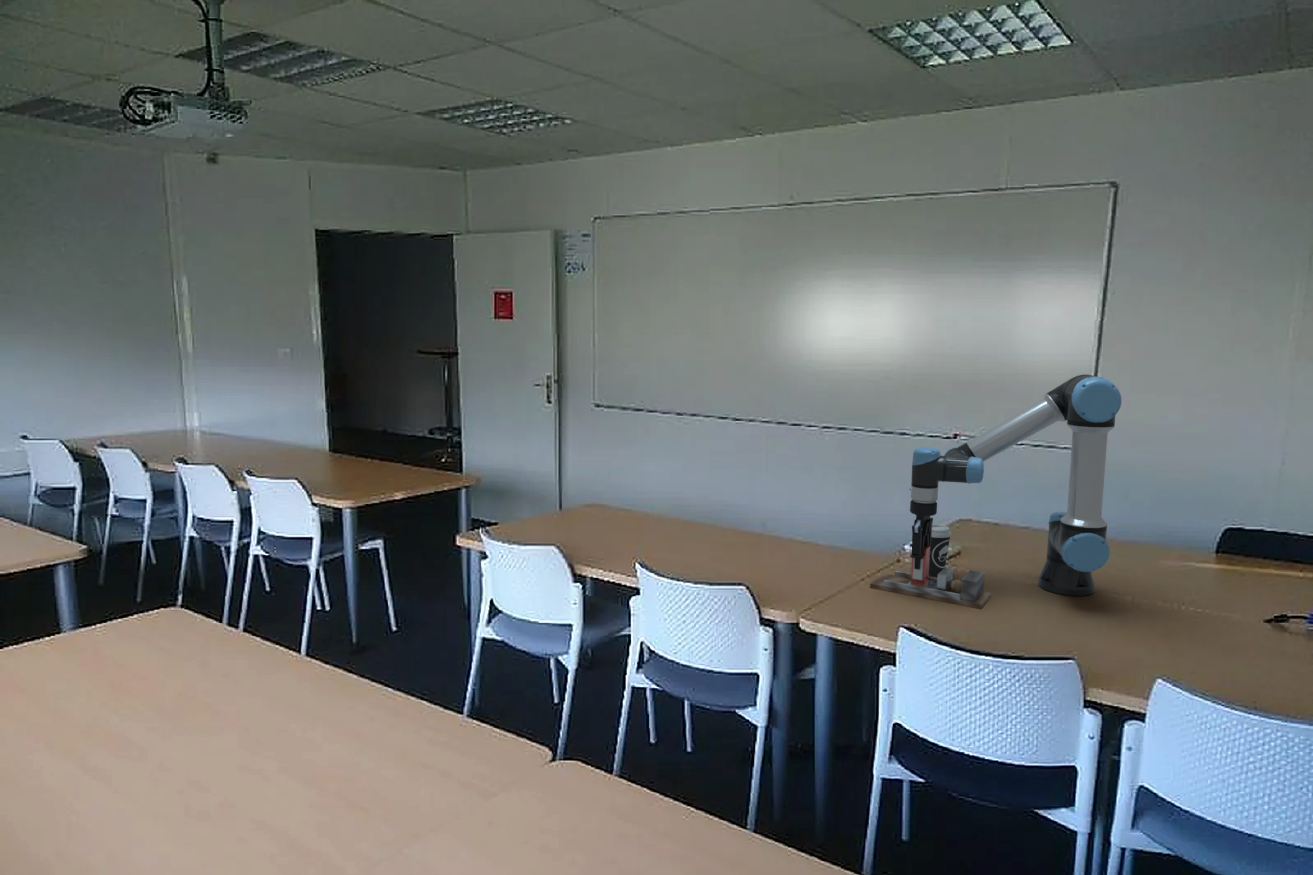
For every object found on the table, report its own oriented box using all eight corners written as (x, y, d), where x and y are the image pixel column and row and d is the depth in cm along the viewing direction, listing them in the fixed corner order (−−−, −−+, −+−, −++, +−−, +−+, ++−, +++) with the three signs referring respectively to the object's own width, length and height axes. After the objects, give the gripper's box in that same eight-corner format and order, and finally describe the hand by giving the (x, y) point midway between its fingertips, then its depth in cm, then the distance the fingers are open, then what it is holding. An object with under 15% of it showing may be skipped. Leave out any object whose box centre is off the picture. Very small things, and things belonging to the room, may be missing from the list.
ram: (952, 586, 241) (954, 547, 239) (945, 594, 234) (947, 554, 233) (915, 580, 247) (916, 542, 245) (907, 587, 240) (908, 548, 239)
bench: (990, 596, 237) (992, 573, 236) (981, 609, 227) (982, 584, 226) (883, 576, 255) (884, 554, 254) (870, 587, 245) (871, 564, 244)
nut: (954, 592, 239) (968, 590, 236) (951, 596, 235) (964, 594, 233) (950, 579, 239) (963, 577, 237) (946, 583, 236) (960, 580, 233)
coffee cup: (945, 568, 263) (947, 523, 261) (952, 578, 253) (955, 531, 251) (915, 567, 264) (917, 523, 262) (921, 577, 254) (924, 530, 252)
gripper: (919, 493, 247) (915, 567, 251) (902, 504, 233) (898, 582, 237) (944, 496, 243) (940, 571, 247) (928, 507, 229) (924, 587, 233)
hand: (919, 576), depth 242 cm, fingers closed on ram, 4 cm apart
